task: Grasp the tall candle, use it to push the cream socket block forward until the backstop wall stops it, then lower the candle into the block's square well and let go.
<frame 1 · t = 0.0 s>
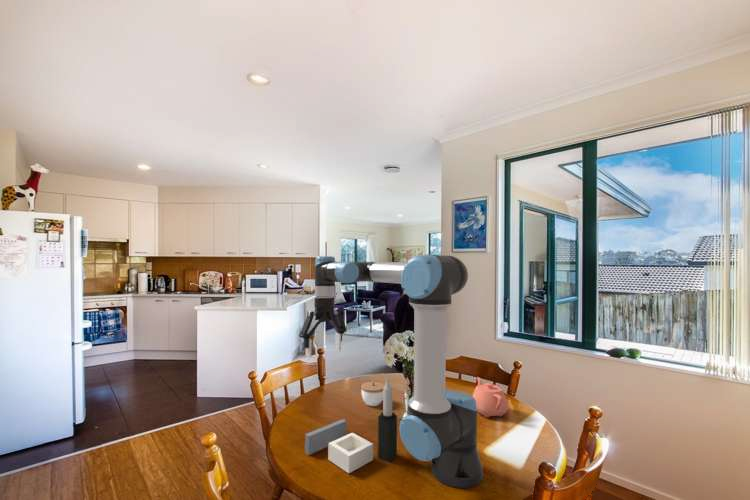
hand: (323, 353, 129), 28 cm above the table, fingers open, 13 cm apart
socket block: (350, 451, 108), point 3 cm above the table, slide at 0.0 cm
teapot: (488, 412, 144), on the table
backstop wall: (326, 445, 117), on the table
candle: (387, 457, 110), on the table
lidded jar: (373, 403, 152), on the table
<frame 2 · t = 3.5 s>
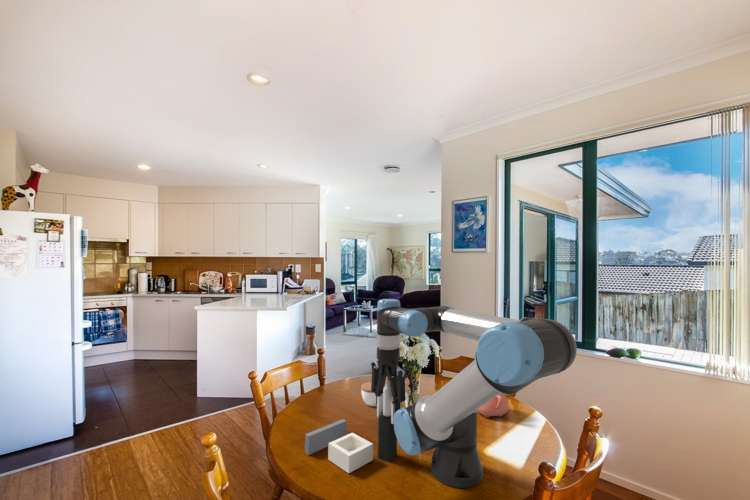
hand: (387, 419, 111), 12 cm above the table, fingers closed on candle, 6 cm apart
candle: (387, 457, 110), on the table, touching gripper
everything else where it was.
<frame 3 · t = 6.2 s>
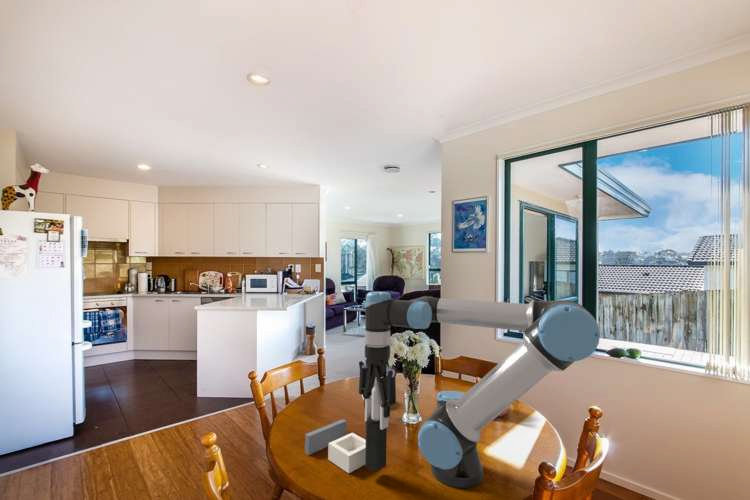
hand: (376, 423, 101), 15 cm above the table, fingers closed on candle, 6 cm apart
candle: (375, 465, 100), point 3 cm above the table, touching gripper
everything else where it was.
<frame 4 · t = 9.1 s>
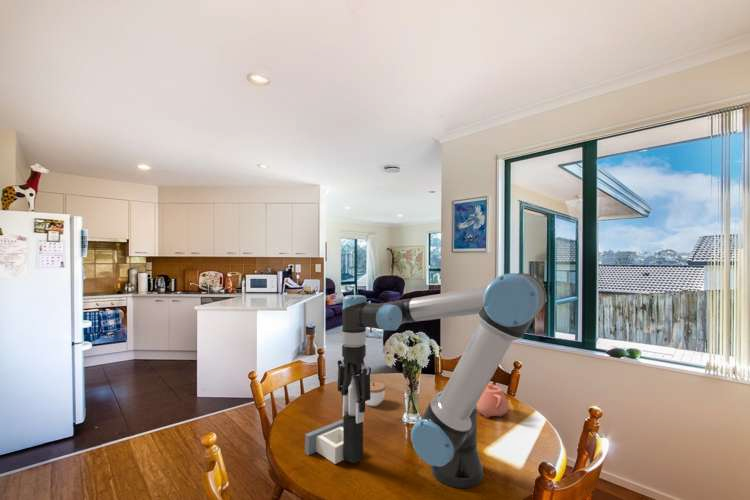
hand: (353, 418, 108), 13 cm above the table, fingers closed on candle, 6 cm apart
socket block: (337, 443, 113), point 3 cm above the table, slide at 6.5 cm, touching backstop wall, candle
candle: (353, 458, 107), point 1 cm above the table, touching gripper, socket block
everything else where it was.
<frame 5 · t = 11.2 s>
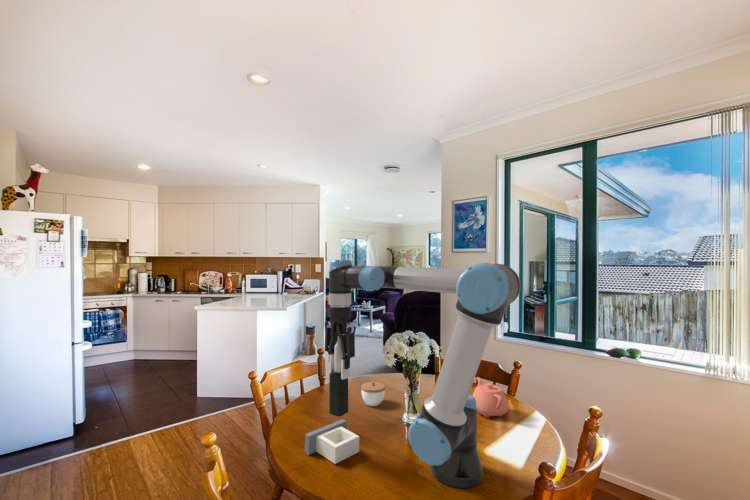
hand: (338, 375, 114), 25 cm above the table, fingers closed on candle, 6 cm apart
socket block: (337, 443, 113), point 3 cm above the table, slide at 6.5 cm, touching backstop wall
candle: (338, 413, 113), point 13 cm above the table, touching gripper
everything else where it was.
when the fingers open (15 cm above the table, at t = 13.3 s): candle drops 2 cm, resting on socket block.
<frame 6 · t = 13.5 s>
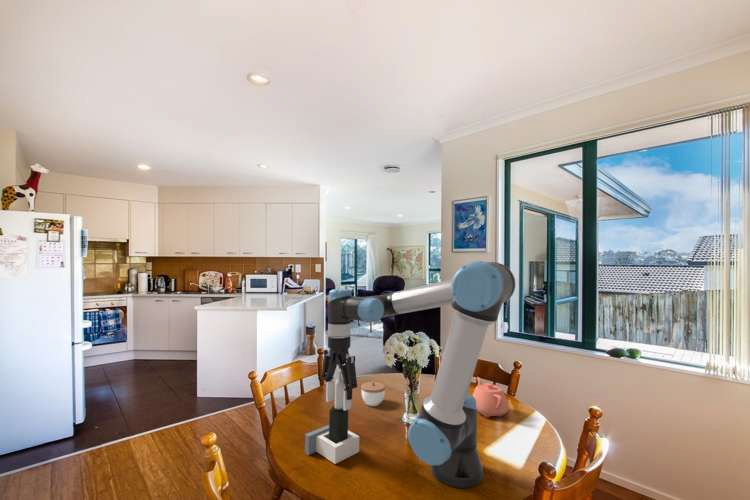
hand: (338, 404, 113), 15 cm above the table, fingers open, 8 cm apart
socket block: (337, 443, 113), point 3 cm above the table, slide at 6.5 cm, touching candle
candle: (338, 448, 113), point 1 cm above the table, touching socket block
everything else where it was.
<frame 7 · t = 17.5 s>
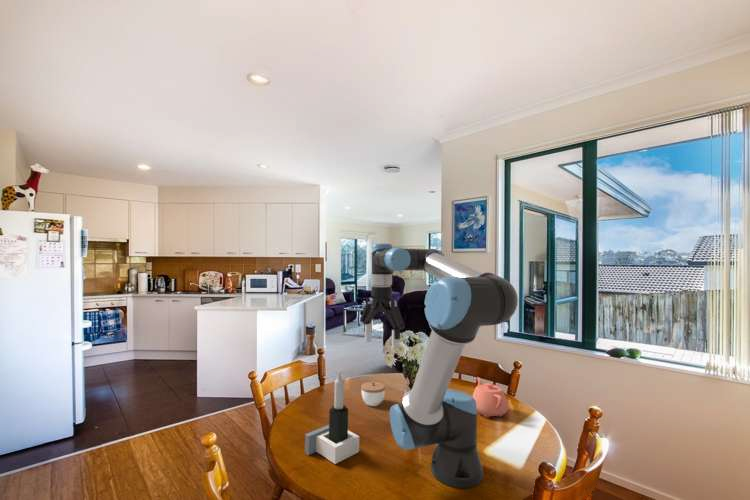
hand: (381, 345, 124), 33 cm above the table, fingers open, 13 cm apart
nothing on the table moved.
at the end: socket block slide at 6.5 cm; candle 0.2 cm from the target spot, point 1.0 cm above the table; candle tilted 0° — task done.
